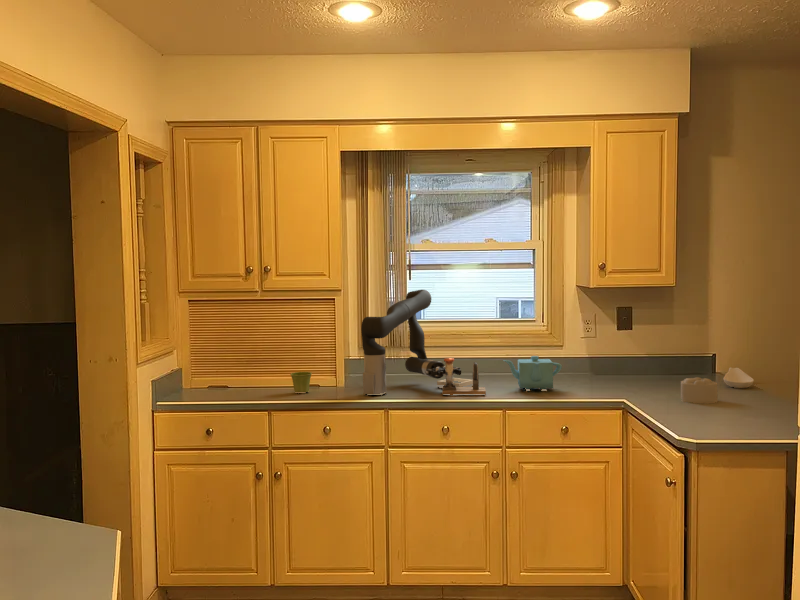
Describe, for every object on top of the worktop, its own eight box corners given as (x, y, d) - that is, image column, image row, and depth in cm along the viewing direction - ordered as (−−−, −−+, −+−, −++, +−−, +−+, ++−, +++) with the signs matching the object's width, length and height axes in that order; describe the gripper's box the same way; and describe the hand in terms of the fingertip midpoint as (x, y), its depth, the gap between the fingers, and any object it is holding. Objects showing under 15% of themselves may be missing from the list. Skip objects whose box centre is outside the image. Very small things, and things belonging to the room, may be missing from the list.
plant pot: (314, 393, 312) (314, 373, 311) (293, 395, 308) (293, 375, 308) (309, 390, 320) (308, 371, 320) (288, 392, 317) (288, 372, 316)
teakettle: (565, 389, 308) (565, 355, 308) (537, 395, 296) (537, 359, 296) (531, 385, 323) (530, 352, 322) (503, 390, 311) (502, 356, 310)
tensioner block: (485, 395, 297) (485, 363, 297) (442, 396, 299) (441, 364, 298) (484, 391, 307) (484, 360, 307) (442, 392, 309) (442, 361, 308)
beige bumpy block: (680, 398, 284) (680, 376, 284) (716, 399, 280) (716, 377, 280) (682, 402, 274) (681, 380, 274) (719, 404, 270) (718, 381, 270)
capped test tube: (450, 390, 300) (450, 359, 300) (442, 389, 303) (441, 359, 303) (456, 389, 304) (456, 358, 303) (448, 388, 307) (447, 357, 306)
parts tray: (459, 390, 313) (459, 383, 312) (437, 387, 320) (437, 381, 320) (474, 386, 322) (474, 379, 322) (453, 384, 329) (452, 377, 329)
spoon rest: (756, 390, 298) (756, 373, 298) (726, 389, 301) (726, 372, 301) (745, 381, 321) (745, 365, 321) (716, 381, 324) (716, 365, 324)
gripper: (418, 361, 313) (436, 365, 298) (447, 359, 319) (466, 363, 304) (419, 378, 313) (436, 383, 299) (447, 376, 319) (466, 380, 305)
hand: (451, 373), depth 302 cm, fingers open, 8 cm apart
